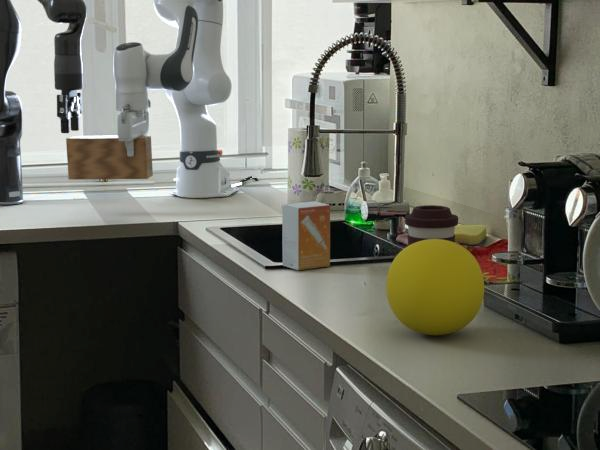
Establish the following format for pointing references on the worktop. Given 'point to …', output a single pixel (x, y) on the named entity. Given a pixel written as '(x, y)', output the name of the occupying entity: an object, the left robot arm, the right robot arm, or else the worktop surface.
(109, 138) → the box
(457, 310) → the toy
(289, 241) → the small box
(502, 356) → the worktop surface
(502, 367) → the worktop surface
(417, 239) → the coffee cup
